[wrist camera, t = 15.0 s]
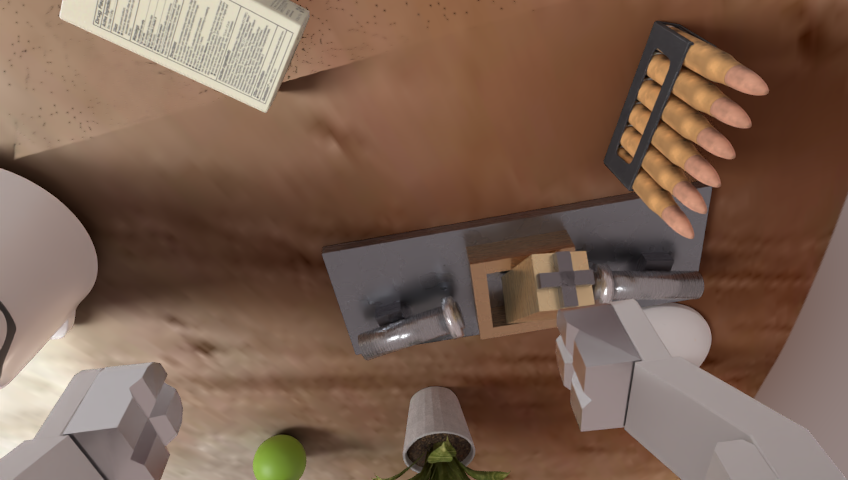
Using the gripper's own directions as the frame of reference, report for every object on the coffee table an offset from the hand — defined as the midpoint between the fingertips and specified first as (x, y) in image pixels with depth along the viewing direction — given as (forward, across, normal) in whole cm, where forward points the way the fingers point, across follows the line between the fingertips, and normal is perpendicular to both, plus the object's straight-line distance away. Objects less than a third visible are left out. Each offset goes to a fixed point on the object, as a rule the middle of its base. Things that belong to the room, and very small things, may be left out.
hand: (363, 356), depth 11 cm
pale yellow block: (+26, -9, +23) cm, 36 cm away
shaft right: (+28, -19, +22) cm, 40 cm away
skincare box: (+27, +6, +1) cm, 27 cm away
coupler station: (+29, -9, +22) cm, 37 cm away
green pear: (+29, +18, +41) cm, 53 cm away
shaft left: (+28, +1, +24) cm, 37 cm away
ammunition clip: (+29, -18, +7) cm, 35 cm away
